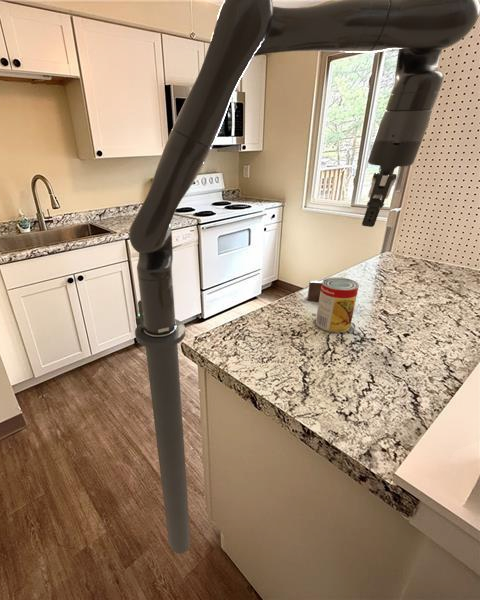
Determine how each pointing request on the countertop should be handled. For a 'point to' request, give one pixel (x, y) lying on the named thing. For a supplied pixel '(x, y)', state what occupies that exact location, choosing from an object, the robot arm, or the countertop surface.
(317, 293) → the brown rectangular block
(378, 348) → the countertop surface
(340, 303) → the canned food
